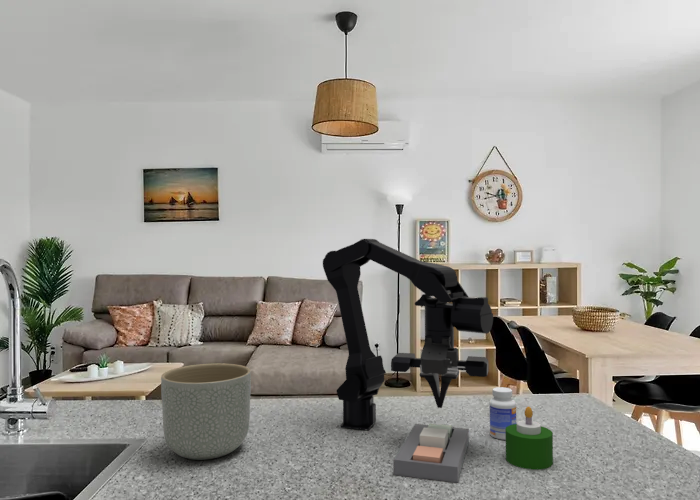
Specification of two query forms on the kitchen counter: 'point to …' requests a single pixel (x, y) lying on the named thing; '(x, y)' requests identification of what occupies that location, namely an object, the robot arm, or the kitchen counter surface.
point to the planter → (206, 409)
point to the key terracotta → (428, 454)
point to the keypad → (430, 470)
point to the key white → (434, 438)
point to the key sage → (439, 426)
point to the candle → (529, 444)
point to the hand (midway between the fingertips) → (439, 407)
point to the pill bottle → (501, 412)
